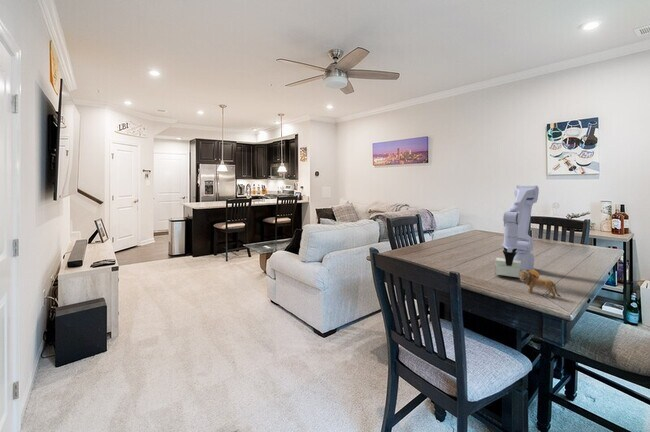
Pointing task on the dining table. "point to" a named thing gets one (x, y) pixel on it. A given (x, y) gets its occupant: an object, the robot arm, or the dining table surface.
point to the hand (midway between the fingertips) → (508, 263)
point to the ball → (534, 273)
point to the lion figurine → (537, 282)
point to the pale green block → (507, 267)
